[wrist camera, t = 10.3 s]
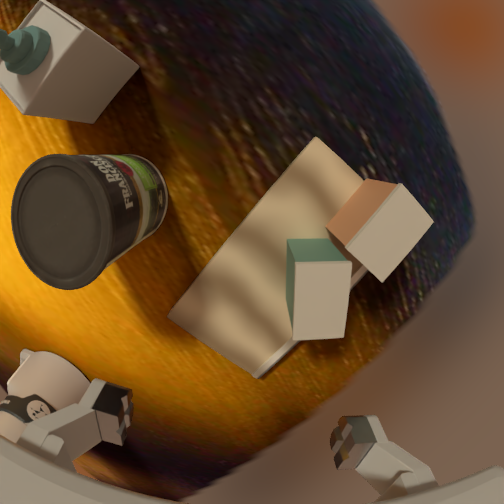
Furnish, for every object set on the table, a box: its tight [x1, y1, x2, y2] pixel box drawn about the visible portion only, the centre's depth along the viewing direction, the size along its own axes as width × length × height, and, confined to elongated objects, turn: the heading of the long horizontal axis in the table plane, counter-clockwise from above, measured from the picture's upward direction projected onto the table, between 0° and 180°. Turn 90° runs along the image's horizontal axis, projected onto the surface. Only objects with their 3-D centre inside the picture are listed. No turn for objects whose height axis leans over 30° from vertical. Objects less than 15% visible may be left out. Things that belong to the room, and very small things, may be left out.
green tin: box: [286, 238, 352, 340], centre depth 29 cm, size 5×7×8 cm
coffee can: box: [11, 154, 168, 290], centre depth 25 cm, size 10×10×14 cm
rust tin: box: [325, 178, 434, 282], centre depth 27 cm, size 5×7×8 cm
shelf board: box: [167, 137, 369, 379], centre depth 33 cm, size 26×14×2 cm, turn 141°
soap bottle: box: [0, 0, 139, 124], centre depth 19 cm, size 9×9×19 cm
